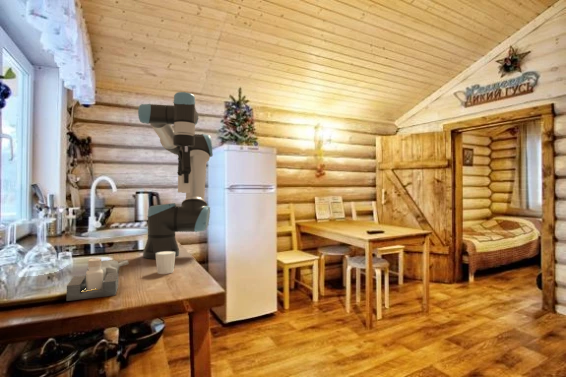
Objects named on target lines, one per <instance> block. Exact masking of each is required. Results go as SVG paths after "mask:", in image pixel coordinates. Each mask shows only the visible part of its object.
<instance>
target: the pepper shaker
mask: <svg viewBox="0 0 566 377" xmlns="http://www.w3.org/2000/svg"><path fill="white" fill-rule="evenodd" d="M101 261H102V258H90V259H88V260H87V262H88V263H87V264H88V265H87V267H88V269H89V270H88V269H87V271H86V272H85V274H86V275H85V276H86V290H91V289H95V288H96V289H98V290H101V289H103V282H104V280H103V270H102V269H101Z"/></svg>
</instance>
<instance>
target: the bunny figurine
mask: <svg viewBox="0 0 566 377" xmlns="http://www.w3.org/2000/svg"><path fill="white" fill-rule="evenodd" d="M129 264H130V262H129V260H128V259H126V260H122V261H119V262H118V260H114V259H109V260H108V259H107V260H104V259H103V260H101V269H102V270H103V281H104V280H105V278H106V276H107V274H108V273H118V274H119V270H120V267H123V266H127V265H129ZM88 270H89V268H88V269H87V271H88Z"/></svg>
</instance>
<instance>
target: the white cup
mask: <svg viewBox="0 0 566 377" xmlns="http://www.w3.org/2000/svg"><path fill="white" fill-rule="evenodd" d="M175 261H176V256H175V252H174V251H163V252H157V253H156V259H155V263H156V264H155V265H156V273H157V274H158V275H159V274H160V275H168V274H173V273H174V270H175Z"/></svg>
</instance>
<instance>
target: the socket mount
mask: <svg viewBox="0 0 566 377" xmlns="http://www.w3.org/2000/svg"><path fill="white" fill-rule="evenodd" d="M85 288H86V275H78V276H76V275H75V276H73V277H72V279H71V280H70V281H69V282H68V283H67V285H66V299H65V300H66V302H68V301H77V300H78V301H79V300H86V299H88V300H89V299H95V298H96V299H97V298H103V297H112V296H116V295H117V291H118V288H119V272H118V273H108V274H107V276H106V278H105V280H103V289H101V290H92V291H87V292H81V291H82V290H84V289H85Z"/></svg>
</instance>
